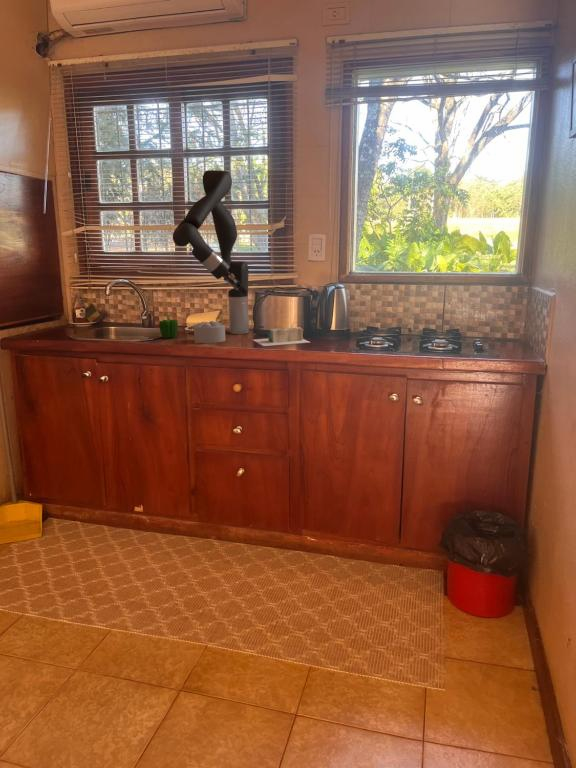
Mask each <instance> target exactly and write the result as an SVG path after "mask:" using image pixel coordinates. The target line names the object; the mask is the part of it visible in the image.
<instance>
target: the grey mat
mask: <svg viewBox="0 0 576 768" xmlns="http://www.w3.org/2000/svg"><path fill="white" fill-rule="evenodd" d="M252 341H254V342H256V343H257V344H259V345H260V346H263V347H268V346H280V345H281V346H283V345H295V344H306V343H308V344H309V343H310V341H308V340H306V339H305V338H303V340H301V341H288V342H275V343H272V342H270V341H268V338H258V339H252Z"/></svg>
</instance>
